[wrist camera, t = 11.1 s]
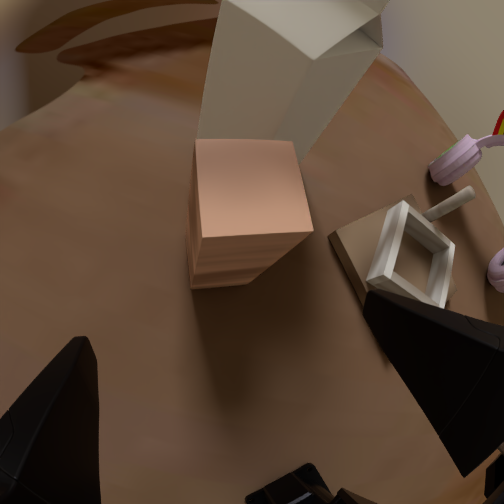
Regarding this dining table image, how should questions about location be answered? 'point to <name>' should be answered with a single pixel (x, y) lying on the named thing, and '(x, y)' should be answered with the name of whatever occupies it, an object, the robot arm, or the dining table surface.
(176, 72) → the dining table surface
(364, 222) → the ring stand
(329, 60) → the milk carton
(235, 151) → the peg
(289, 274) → the dining table surface
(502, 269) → the headphones
